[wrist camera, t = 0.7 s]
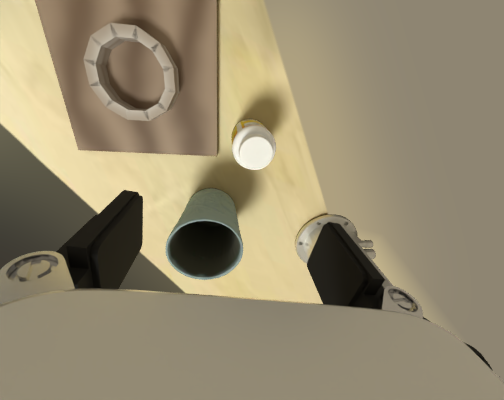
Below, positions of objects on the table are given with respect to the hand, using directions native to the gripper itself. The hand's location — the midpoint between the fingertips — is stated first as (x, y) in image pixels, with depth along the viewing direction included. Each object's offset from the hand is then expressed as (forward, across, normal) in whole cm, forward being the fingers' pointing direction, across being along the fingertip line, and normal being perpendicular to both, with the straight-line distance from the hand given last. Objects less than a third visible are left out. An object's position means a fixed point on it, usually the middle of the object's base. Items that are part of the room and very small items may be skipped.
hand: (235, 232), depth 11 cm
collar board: (+26, +13, -5) cm, 29 cm away
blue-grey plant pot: (+26, +1, +13) cm, 29 cm away
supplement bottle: (+26, -3, 0) cm, 26 cm away
